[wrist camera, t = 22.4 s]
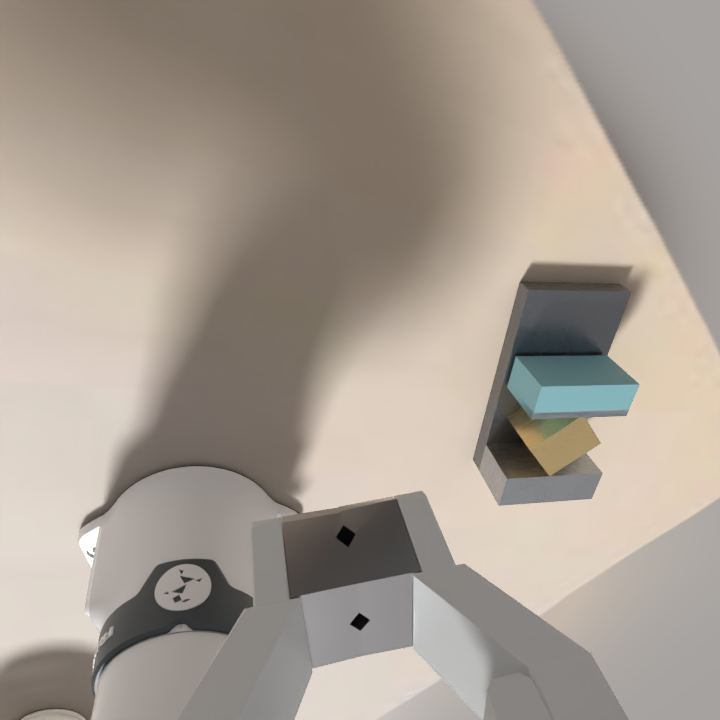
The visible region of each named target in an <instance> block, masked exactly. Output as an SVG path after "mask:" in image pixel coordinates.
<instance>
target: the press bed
mask: <svg viewBox="0 0 720 720" xmlns="http://www.w3.org/2000/svg"><path fill="white" fill-rule="evenodd" d="M630 293H631V292H630V291H629V290H627V289H626V288H624V287H623V286H622V285H620V284H579V283H536V282H520V284H519V288H518V292H517V296H516V299H515V303H514V307H513V311H512V314H511V318H510V322H509V326H508V330H507V333H506V337H505V341H504V345H503V348H502V352H501V356H500V360H499V364H498V367H497V371H496V375H495V379H494V382H493V386H492V390H491V394H490V398H489V401H488V405H487V409H486V413H485V416H484V420H483V424H482V428H481V432H480V435H479V439H478V443H477V447H476V450H475V454H474V458H473V460H474V462H475V464H476V466H477V467H478V469H479V471H480V473H481V475H482V476H483V478H484V480H485V482H486V484H487V485H488V487H489V489H490V491H491V493H492V494H493V496H494V498H495V500H496V502H497V503H498V505H513V504H527V503H540V502H554V501H568V500H581V499H592V497H593V495H594V492H595V490H596V487H597V485H598V483H599V480H600V478H601V475H602V472H601V471H600V469H599V468H598V467H597V466H596V465H595V463H594V462H593V461H592V460H591V459H590V457H589V456H588V455H587V454H586V453H585V454H583V455H582V456H580V457H579V458H577V459H576V460H574V461H573V462H571V463H569V464H568V465H566V466H565V467H563V468H562V469H560V470H559V471H557V472H556V473H554V474H552V475H551V476H549V475H548V474H547V472H546V471H545V470H544V468H543V467H542V466H541V464H540V463H539V462H538V460H537V459H536V458H535V456H534V455H533V454H532V452H531V451H530V450H529V448H528V447H527V445H526V444H525V443H524V441H523V440H522V438H521V437H520V435H519V434H518V433H517V431H516V430H515V428H514V427H513V425H512V424H511V423H510V421H509V420H508V418H507V417H508V416H509V415H511V414H512V413H514V412H515V411H517V410H518V409H520V408H521V407H522V406H521V405H520V404H519V402H518V401H517V400H516V398H515V397H514V396H513V394H512V393H511V392H510V390H509V389H508V388H507V386H508V382H509V379H510V375H511V372H512V368H513V364H514V361H515V357H516V356H593V355H608V352H609V349H610V347H611V344H612V341H613V339H614V336H615V333H616V331H617V328H618V325H619V322H620V320H621V317H622V314H623V312H624V309H625V306H626V304H627V301H628V298H629V296H630Z"/></svg>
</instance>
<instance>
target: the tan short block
mask: <svg viewBox="0 0 720 720" xmlns="http://www.w3.org/2000/svg"><path fill="white" fill-rule="evenodd" d="M507 418H508V420H509V421H510V423H511V424H512V425H513V427H514V428H515V430H516V431H517V433H518V434H519V435H520V437H521V438H522V440H523V441H524V443H525V444H526V445H527V447H528V448H529V450H530V451H531V452H532V454H533V455H534V456H535V458H536V459H537V460H538V462H539V463H540V464H541V466H542V467H543V468H544V470H545V471H546V472H547V474H548V475H549V476H551V475H552V474H554V473H556V472H557V471H559V470H560V469H562V468H563V467H565V466H566V465H568V464H569V463H571V462H573V461H574V460H576V459H577V458H579V457H580V456H582V455H583V454H585V453H587V452H588V451H590V450H591V449H593V448H594V447H596V446H597V445H599V444H600V441H599V439H598V438H597V436H596V435H595V433H594V431H593V430H592V428H591V427H590V425H589V424H588V422H587V420H586V419H587V418H586V417H580V418H553V419H531V418H530V417H529V415H528V414H527V413H526V411H525V410H524V409H523V408H522V407H521V408H520V409H518V410H517V411H515V412H514V413H512V414H511V415H509V416H508V417H507Z"/></svg>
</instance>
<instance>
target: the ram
mask: <svg viewBox="0 0 720 720" xmlns="http://www.w3.org/2000/svg"><path fill="white" fill-rule="evenodd" d="M638 387H639V384H638V383H637V382H636V381H635V380H634V379H633V378H632V377H631V376H629V375H628V374H627V373H626V372H625V371H624V370H623V369H622V368H620V367H619V366H618V365H617V364H616V363H615V362H614V361H613V360H611V359H610V358H609V357H608V356H607V355H593V356H516V357H515V361H514V364H513V368H512V372H511V375H510V379H509V382H508V386H507V388H508V389H509V390H510V392H511V393H512V394H513V396H514V397H515V398H516V400H517V401H518V402H519V404H520V405H521V406H522V408H523V409H524V410H525V411H526V413H527V414H528V415H529V417H530V418H531V419H553V418H580V417H607V416H626V415H627V413H628V411H629V408H630V406H631V403H632V401H633V399H634V396H635V394H636V391H637V389H638Z"/></svg>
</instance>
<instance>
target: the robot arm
mask: <svg viewBox="0 0 720 720" xmlns="http://www.w3.org/2000/svg"><path fill="white" fill-rule="evenodd" d="M78 544H79V546H80V548H81V550H82V552H83V554H84V556H85V558H86V560H87V562H88V563H89V565H90V567H91V574H90V580H89V586H88V591H87V597H86V603H85V613H86V615H88V616H90V618H91V621H92V623H93V625H94V626H95V628H96V629H97V630H98V631H99V632H100V637H99V642H98V644H97V647H96V651H95V654H94V659H93V666H92V668H93V676H92V691H93V694H94V696H95V701H94V706H93V711H92V716H91V720H294V719H295V716H296V714H297V711H298V708H299V706H300V703H301V701H302V698H303V695H304V693H305V690H306V688H307V685H308V682H309V680H310V677H311V674H312V668H316V667H320V666H324V665H328V664H332V663H336V662H340V661H344V660H348V659H352V658H356V657H360V656H362V655H363V656H364V655H369V654H374V653H379V652H385V651H390V650H395V649H400V648H405V647H410V646H413V649H414V650H415V651H416V652H417V653H418V654H419V655H420V656H421V657H422V658H423V659H424V660H425V661H426V663H427V664H428V665H429V666H430V667H431V668H432V669H433V670H434V671H435V672H436V673H437V674H438V675H439V676H440V677H441V678H442V679H443V680H444V681H445V682H446V683H447V684H448V685H449V686H450V687H451V688H452V689H453V691H454V692H455V693H457V695H458V696H459V697H460V698H461V699H462V700H463V701H464V702H465V703H466V704H467V705H468V706H469V707H470V708H471V709H472V710H473V711H474V712H475V713H476V714H477V715H478V716H479V717H480V718H481V720H629V719H628V717H627V716H626V714H625V712H624V711H623V709H622V707H621V706H620V704H619V702H618V700H617V698H616V697H615V695H614V693H613V691H612V690H611V688H610V686H609V684H608V683H607V681H606V679H605V677H604V676H603V674H602V672H601V670H600V669H599V667H598V665H597V663H596V662H595V660H594V658H593V657H592V655H591V653H589V652H588V651H587V650H585V649H584V648H582V647H581V646H579V645H578V644H577V643H575V642H574V641H572V640H571V639H570V638H568V637H567V636H565V635H564V634H563V633H561V632H560V631H558V630H557V629H555V628H554V627H553V626H551V625H550V624H548V623H547V622H546V621H544V620H543V619H541V618H540V617H539V616H537V615H536V614H534V613H533V612H532V611H530V610H529V609H527V608H526V607H524V606H523V605H522V604H520V603H519V602H517V601H516V600H515V599H513V598H512V597H510V596H509V595H508V594H506V593H505V592H503V591H502V590H500V589H499V588H498V587H496V586H495V585H493V584H492V583H491V582H489V581H488V580H486V579H485V578H484V577H482V576H481V575H479V574H478V573H476V572H475V571H474V570H472V569H471V568H469V567H468V566H467V565H465V564H460V565H455V563H454V560H453V558H452V556H451V553H450V551H449V548H448V546H447V544H446V541H445V539H444V537H443V534H442V532H441V530H440V527H439V525H438V522H437V520H436V518H435V515H434V513H433V511H432V508H431V506H430V504H429V501H428V499H427V496H426V494H424V493H423V492H422V491H419V492H413V493H408V494H403V495H398V496H394V497H387V498H382V499H377V500H372V501H366V502H361V503H356V504H351V505H346V506H341V507H338V508H333V509H326V510H320V511H314V512H307V513H301V514H298V513H297V512H295V511H294V510H292V509H290V508H288V507H285V506H283V505H280V504H278V503H276V502H275V501H273V500H272V499H271V498H270V497H269V496H268V495H267V494H266V493H265V492H264V491H263V489H261V488H260V487H259V486H258V485H257V484H256V483H254V482H253V481H251V480H250V479H248V478H246V477H244V476H242V475H240V474H237V473H235V472H232V471H228V470H225V469H220V468H214V467H205V466H189V467H180V468H174V469H169V470H165V471H161V472H158V473H155V474H153V475H150V476H148V477H146V478H144V479H142V480H140V481H138V482H137V483H135V484H134V485H132V486H131V487H130V488H128V489H127V490H126V491H125V492H124V493H123V494H122V495H121V496H120V497H119V498H118V499H117V501H116V502H115V503H114V505H113V506H112V507H111V508H110V509H109V511H108V512H106V513H105V514H104V515H102V516H100V517H98V518H96V519H95V520H93V521H91V522H89V523H88V524H86V525H85V526H84V527H82V528H81V530H80V532H79V539H78Z"/></svg>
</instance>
